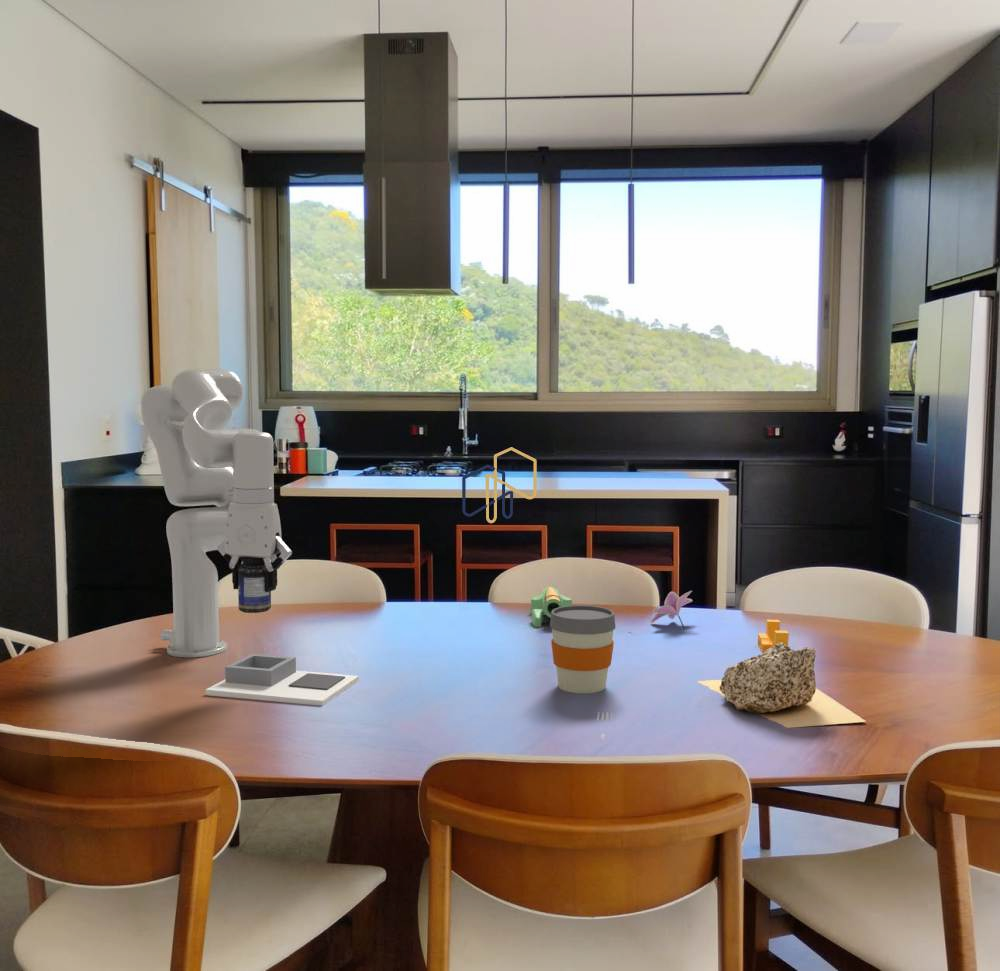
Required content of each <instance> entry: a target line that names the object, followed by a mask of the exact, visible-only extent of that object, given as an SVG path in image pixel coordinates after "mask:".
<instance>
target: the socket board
mask: <svg viewBox="0 0 1000 971" xmlns="http://www.w3.org/2000/svg"><path fill="white" fill-rule="evenodd" d="M296 658H297V657H293V656H284V655H283V656H282V655H269V654H257V653H250V654H249V655H247V656H246V655H245V656H244V657H241V658H240V659H238V660H236V661H234V662H232V663H231V664H228V665H227V666H225V667H224V669H225V670H224V671H225V675H224V676H225V678H224V679H222V680H221V681H219V682H217V683H215V684H214V685H212V686H210V687H208V688H206V689H205V696H209V697H210V696H211V697H212V696H213V697H222V698H223V697H224V698H234V699H245V700H254V701H256V700H257V701H266V702H267V701H268V702H278V703H279V702H280V703H289V704H300V705H312V706H322V707H324V705H326V704H327V703H329V702H330V701H332V700H333V699H334V698H335V699H336V697H338V696H339V695H340V694H342V693H343V692H345V691H347V690H348V689H349V688H351V687H352V686H353V685H355V684H356V683H358V682H360V676H359V675H352V674H351V675H350V674H341V673H330V672H329V673H327V672H320V671H319V672H318V671H305V670H297V667H296V665H297V664H296V663H297V660H296Z"/></svg>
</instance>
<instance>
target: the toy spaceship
mask: <svg viewBox="0 0 1000 971" xmlns="http://www.w3.org/2000/svg"><path fill="white" fill-rule="evenodd" d="M572 603H573V601H572V599H571V598H570V597H568V596H565V595H563V594H560V591H559V590H558V589H556V588H554V587H552V586H547V587H545V588H543V589H542V591H541V593H540V594H539V595H538V596H534V597H532V598H531V600H530V614H531V624H532V625H533V627H535V628H541V627H542V625H543V623H544V616H547V617H548V618H550V619H551V611H552V610H553V609H555V608H559V607H564V606H573V604H572Z"/></svg>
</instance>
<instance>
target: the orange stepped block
mask: <svg viewBox="0 0 1000 971" xmlns="http://www.w3.org/2000/svg"><path fill="white" fill-rule="evenodd" d="M765 622H766V626H765V633H762V632H761V633H757V646H758V647H759V649H760V651H761V653H763V652H764V651H766V650H767V649H769V648H772V647H773V646H774V645H776V644H778V643H779V642H781V643H784V644H785V645H786V646H788V647H789V637H790V636H789V632H788V630H781V621H780V620H779V619H766V621H765Z"/></svg>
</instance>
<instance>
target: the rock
mask: <svg viewBox="0 0 1000 971" xmlns="http://www.w3.org/2000/svg"><path fill="white" fill-rule="evenodd" d="M816 653H817V652H816V650H815V648H814V647H804V648H801V649H797V650H794V649H792V648H791V647H790V646H789V645H788V646H786V645H785V644H784V643H781V642H779V643H778V644H776V645H774V646H773V647H772V648H769V649H767V650H766V651H764V652H761V653H760V654H758V655H756V656H752V657H750V658H745V659H744V660H741V661H738V662H737V664H733V665H730V666H728V667H727V668H726V669H725V672H723V673H724V674H723V675H724V676H723V677H722V678H721V679H710V680H697V681H696V682H697V683H700V684H701V685H703V686H706V688H709V689H710V691H714V692H716V693H718V694H720V695H721V696H722V697H725V698H726V701H727V702H730V703H731V704H733V705H734V707H735V708H736V709H737V710H743V711H747V713H749V714H755V715H759V716H761V717H762V718H763V719H765V718H767V721H771V722H775V723H777V724H779V725H781V724H782V725H781V726H783V725H784V726H783V727H785V728H786V729H789V728H790V729H791V728H801V727H802V728H804V727H814V726H816V727H817V726H826V725H827V726H829V725H839V724H854V723H856V724H857V723H865V722H867V720H865V719H864V718H862V717H860V716H859V715H857V714H856V713H854V712H853V711H852V710H850V709H848V708H847V707H846V706H844V705H842V704H841V703H839V702H837V700H835V699H833V698H832V697H830V696H828V694H826V693H824V692H823V691H822V690H819V689H818V688H817V686H816V674H815V661H816V659H815V658H816V657H817V656H816Z"/></svg>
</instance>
